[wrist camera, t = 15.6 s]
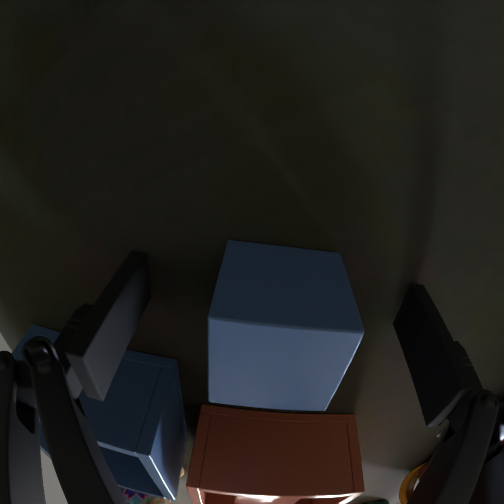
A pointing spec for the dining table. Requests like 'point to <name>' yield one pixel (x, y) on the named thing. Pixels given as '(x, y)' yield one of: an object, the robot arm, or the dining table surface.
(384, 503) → the coffee jar
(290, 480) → the terracotta bin
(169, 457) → the slate bin
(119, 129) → the dining table surface
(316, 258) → the slate block
